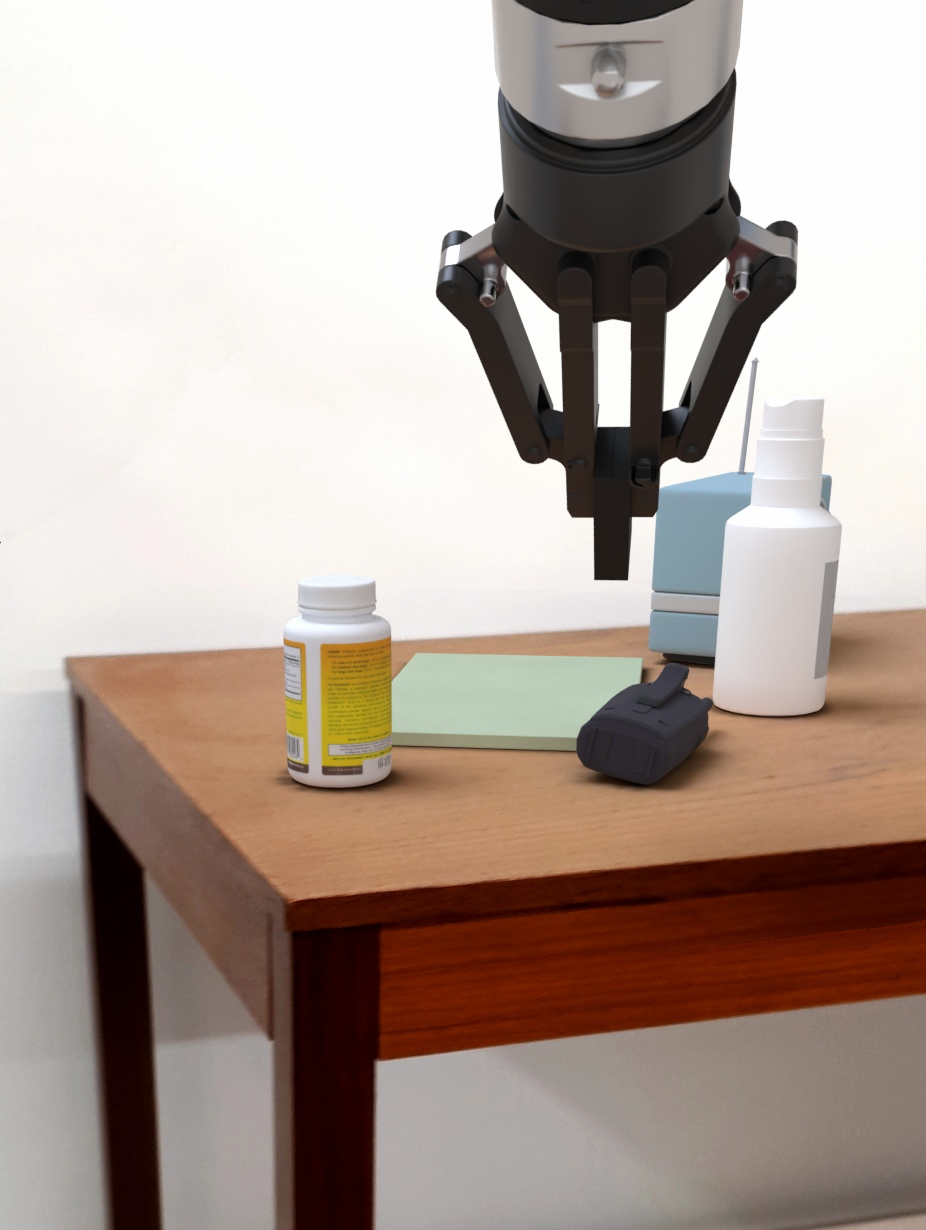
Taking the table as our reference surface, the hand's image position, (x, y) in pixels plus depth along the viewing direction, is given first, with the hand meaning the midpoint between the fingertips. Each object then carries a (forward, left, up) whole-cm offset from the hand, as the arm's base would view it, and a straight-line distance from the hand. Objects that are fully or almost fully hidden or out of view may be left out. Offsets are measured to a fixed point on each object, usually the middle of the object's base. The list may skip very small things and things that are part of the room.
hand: (613, 555), depth 74 cm
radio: (-8, -50, -13) cm, 52 cm away
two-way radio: (-1, -8, -10) cm, 13 cm away
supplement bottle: (+14, -8, -13) cm, 21 cm away
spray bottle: (-9, -30, -13) cm, 34 cm away
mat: (+7, -29, -12) cm, 32 cm away
